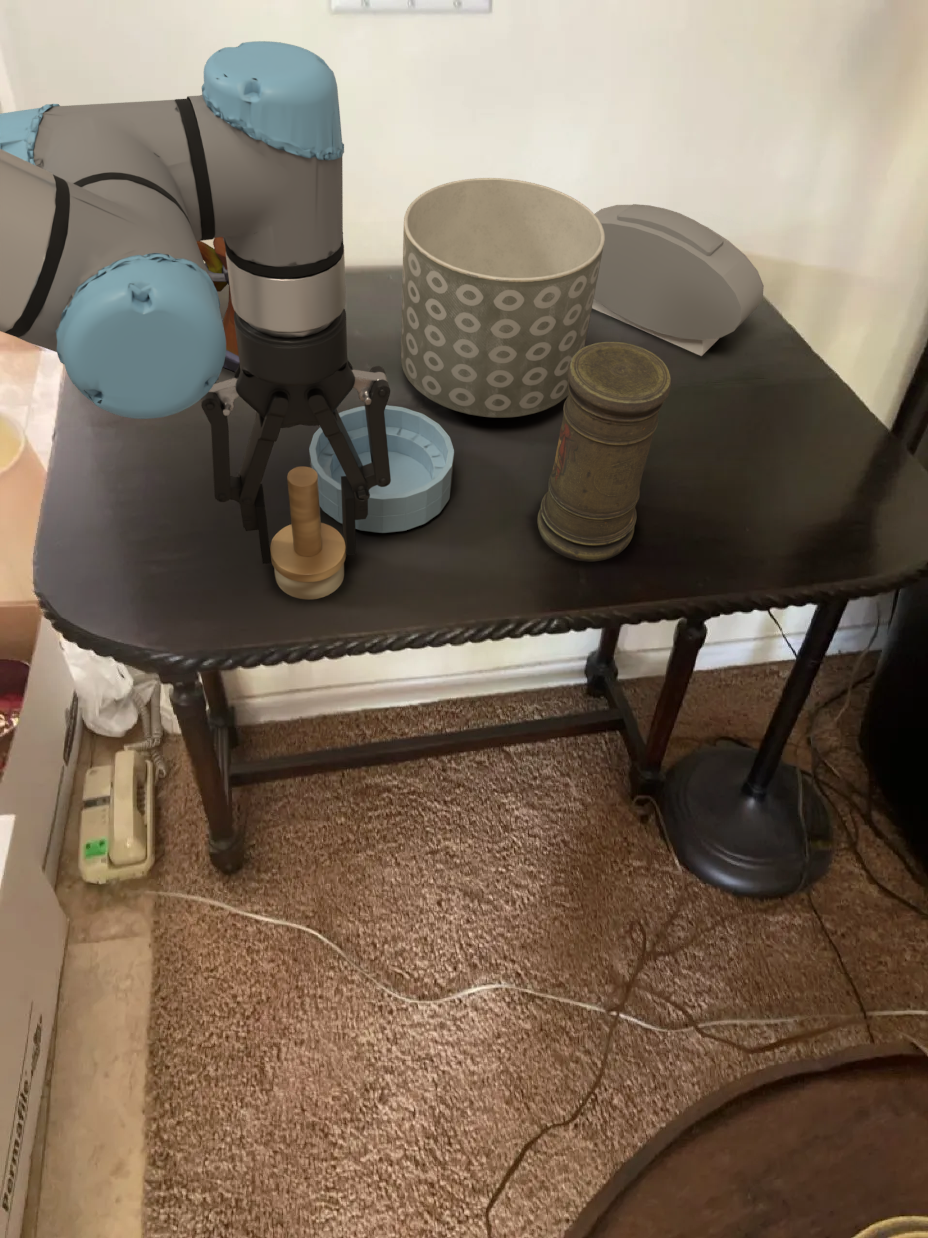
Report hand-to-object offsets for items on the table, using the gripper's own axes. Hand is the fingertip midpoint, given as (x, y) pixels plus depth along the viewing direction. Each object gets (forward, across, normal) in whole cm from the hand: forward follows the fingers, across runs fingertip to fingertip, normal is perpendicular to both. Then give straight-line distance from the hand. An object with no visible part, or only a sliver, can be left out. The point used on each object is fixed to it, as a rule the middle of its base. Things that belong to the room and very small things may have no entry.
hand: (307, 547), depth 83 cm
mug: (+4, +4, -34) cm, 34 cm away
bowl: (+3, -8, -10) cm, 13 cm away
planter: (+4, -22, -25) cm, 34 cm away
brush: (+3, 0, 0) cm, 3 cm away
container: (+4, -26, -2) cm, 26 cm away
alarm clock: (+4, -44, -35) cm, 56 cm away
